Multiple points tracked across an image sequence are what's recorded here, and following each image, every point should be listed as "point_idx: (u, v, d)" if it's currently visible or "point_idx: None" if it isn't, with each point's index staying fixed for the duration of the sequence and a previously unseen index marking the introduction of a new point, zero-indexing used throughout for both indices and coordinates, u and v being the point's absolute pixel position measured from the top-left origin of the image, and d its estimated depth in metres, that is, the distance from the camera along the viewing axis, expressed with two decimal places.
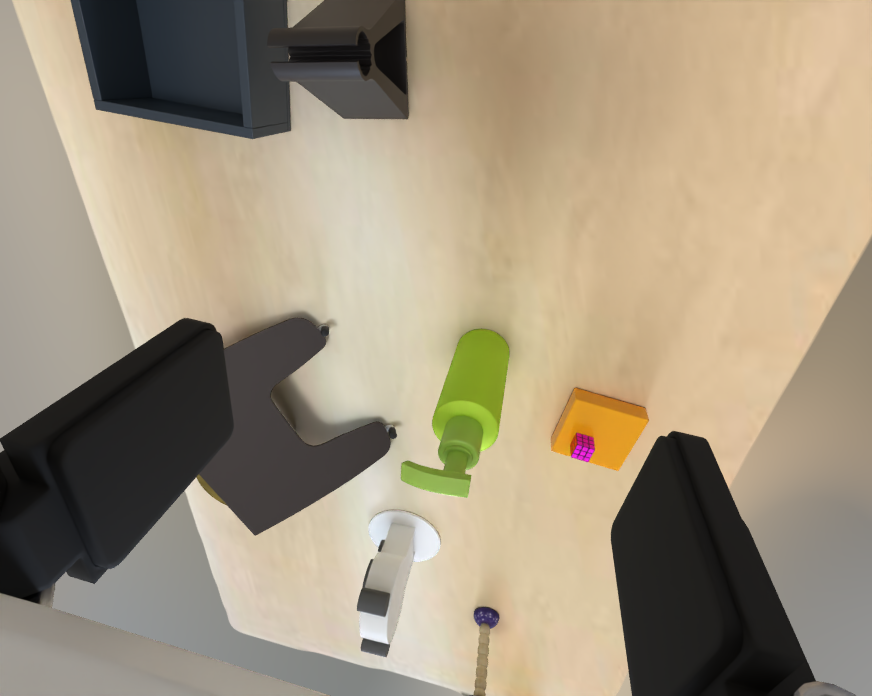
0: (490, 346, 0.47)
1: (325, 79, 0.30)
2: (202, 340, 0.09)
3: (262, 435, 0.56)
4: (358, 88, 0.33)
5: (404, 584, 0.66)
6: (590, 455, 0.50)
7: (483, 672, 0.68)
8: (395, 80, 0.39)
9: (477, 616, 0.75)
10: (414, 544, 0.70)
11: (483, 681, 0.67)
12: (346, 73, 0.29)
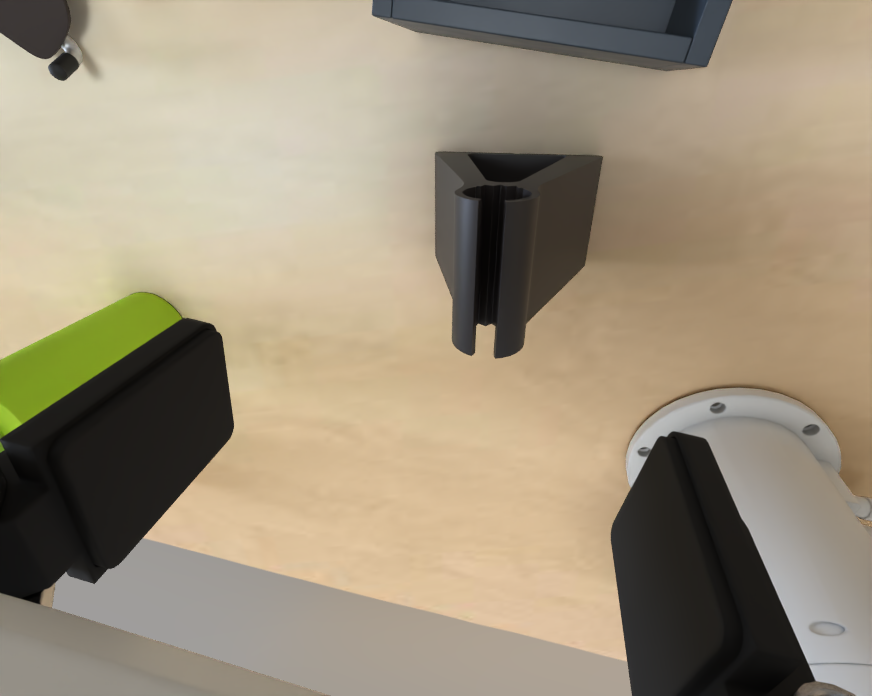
0: None
1: (453, 282, 0.18)
2: (202, 340, 0.09)
3: None
4: None
5: None
6: None
7: None
8: None
9: None
10: None
11: None
12: (458, 329, 0.18)
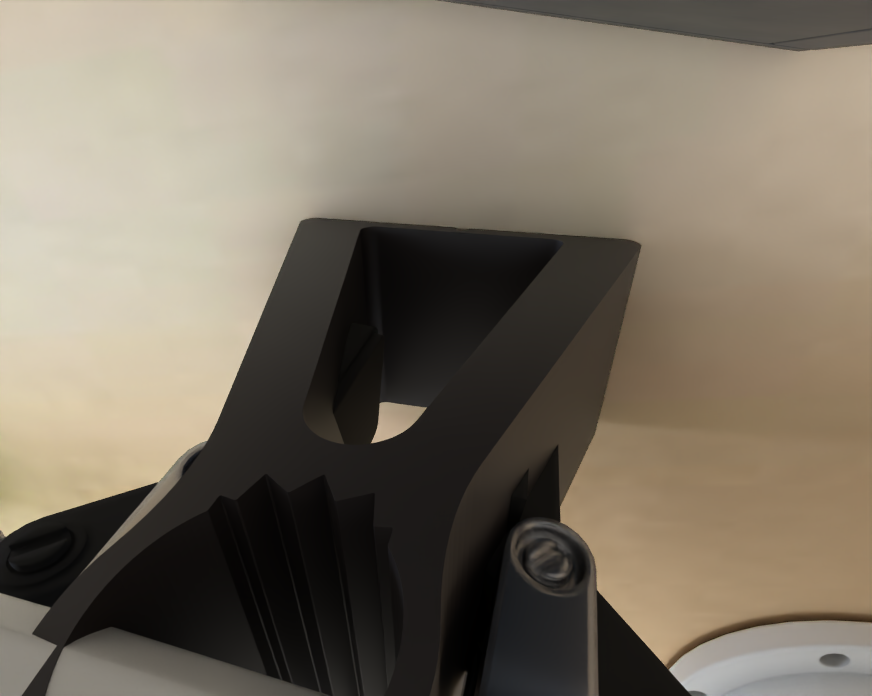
0: None
1: None
2: (375, 343, 0.10)
3: None
4: None
5: None
6: None
7: None
8: (407, 381, 0.15)
9: None
10: None
11: None
12: None
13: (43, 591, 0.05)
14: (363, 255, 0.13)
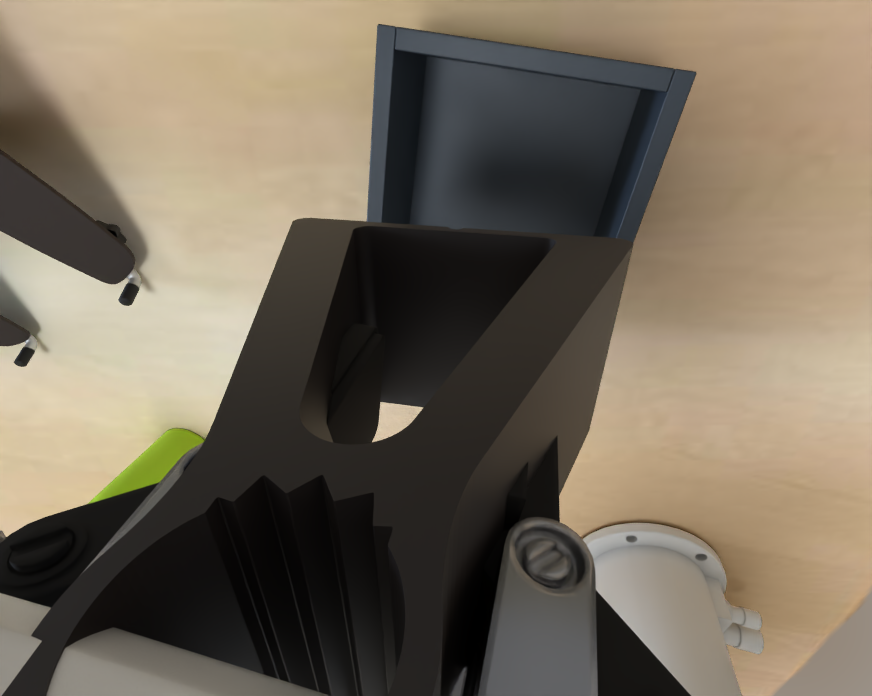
0: None
1: None
2: (375, 343, 0.10)
3: None
4: None
5: None
6: None
7: None
8: (402, 380, 0.15)
9: None
10: None
11: None
12: None
13: (44, 591, 0.05)
14: (356, 255, 0.12)
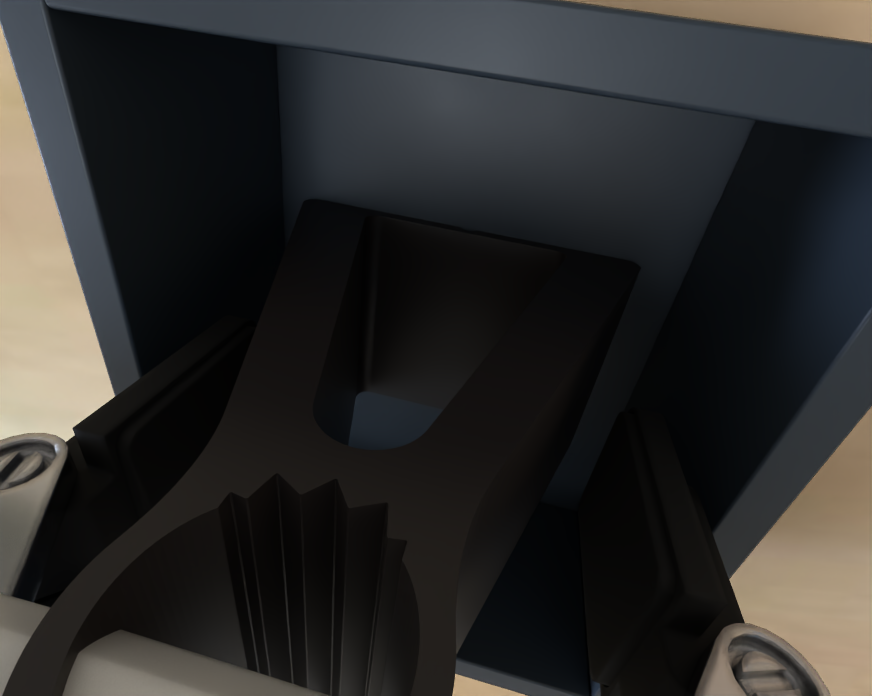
0: None
1: None
2: (246, 336, 0.09)
3: None
4: None
5: None
6: None
7: None
8: (393, 373, 0.15)
9: None
10: None
11: None
12: None
13: None
14: (365, 243, 0.12)
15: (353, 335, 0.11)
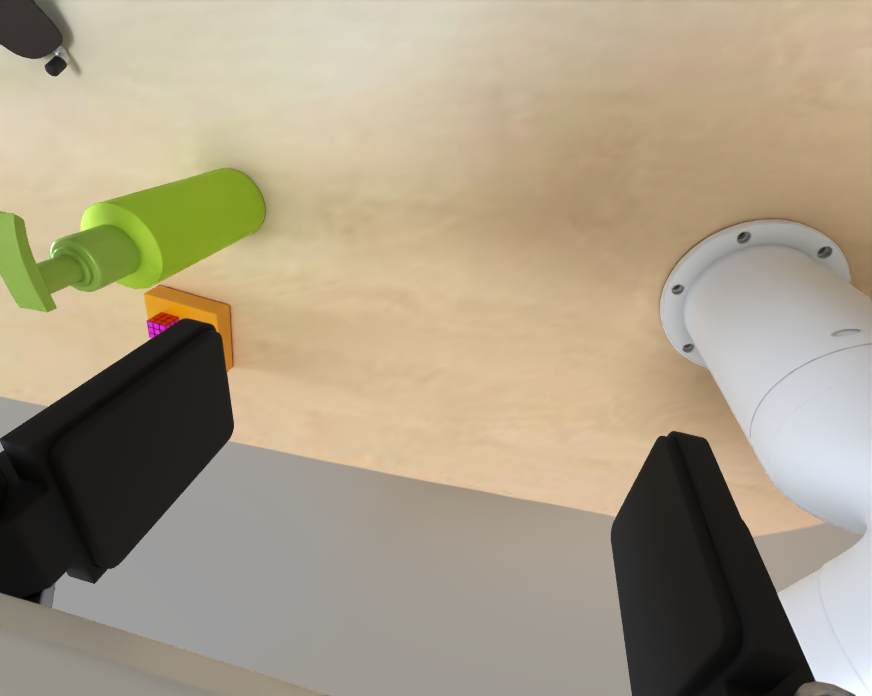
0: (245, 225, 0.39)
1: None
2: (202, 340, 0.09)
3: None
4: None
5: None
6: None
7: None
8: None
9: None
10: None
11: None
12: None
13: None
14: None
15: None
